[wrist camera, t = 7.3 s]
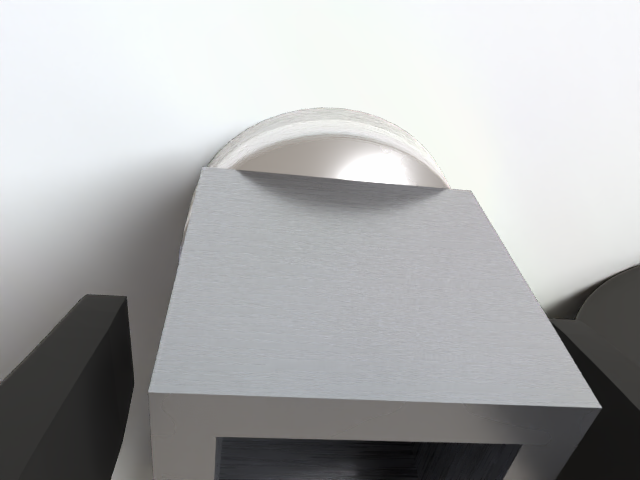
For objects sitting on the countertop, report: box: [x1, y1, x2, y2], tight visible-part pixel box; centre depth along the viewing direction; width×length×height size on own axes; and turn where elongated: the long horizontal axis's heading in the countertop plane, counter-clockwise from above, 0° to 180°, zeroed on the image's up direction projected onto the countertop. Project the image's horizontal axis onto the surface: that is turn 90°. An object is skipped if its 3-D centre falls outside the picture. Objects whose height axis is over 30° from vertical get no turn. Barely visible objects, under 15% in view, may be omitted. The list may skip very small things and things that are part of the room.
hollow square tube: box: [148, 167, 602, 480], centre depth 9 cm, size 5×5×5 cm
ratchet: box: [179, 108, 451, 261], centre depth 13 cm, size 13×6×4 cm, turn 158°
